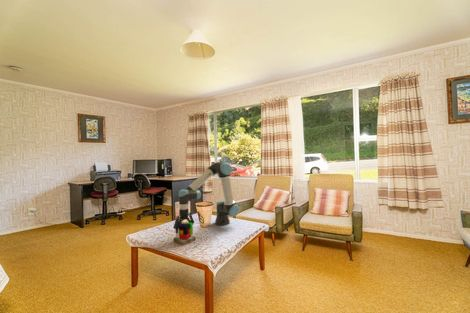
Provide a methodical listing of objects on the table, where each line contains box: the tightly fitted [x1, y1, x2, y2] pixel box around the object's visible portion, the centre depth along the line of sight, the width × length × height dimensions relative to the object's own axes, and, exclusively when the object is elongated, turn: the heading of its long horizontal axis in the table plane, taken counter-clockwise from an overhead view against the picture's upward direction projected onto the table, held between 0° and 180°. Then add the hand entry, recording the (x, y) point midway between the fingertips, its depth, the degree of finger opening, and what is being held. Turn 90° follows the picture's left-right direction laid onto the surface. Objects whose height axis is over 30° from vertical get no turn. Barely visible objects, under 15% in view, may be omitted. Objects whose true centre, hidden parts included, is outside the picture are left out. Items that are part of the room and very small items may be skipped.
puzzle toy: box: [175, 221, 194, 239], centre depth 180 cm, size 10×10×10 cm
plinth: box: [172, 235, 196, 246], centre depth 180 cm, size 13×13×3 cm
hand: (184, 234), depth 180 cm, fingers closed on puzzle toy, 12 cm apart
